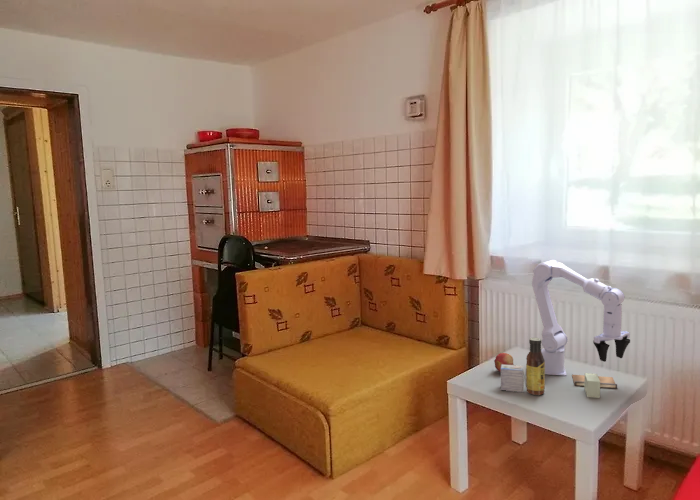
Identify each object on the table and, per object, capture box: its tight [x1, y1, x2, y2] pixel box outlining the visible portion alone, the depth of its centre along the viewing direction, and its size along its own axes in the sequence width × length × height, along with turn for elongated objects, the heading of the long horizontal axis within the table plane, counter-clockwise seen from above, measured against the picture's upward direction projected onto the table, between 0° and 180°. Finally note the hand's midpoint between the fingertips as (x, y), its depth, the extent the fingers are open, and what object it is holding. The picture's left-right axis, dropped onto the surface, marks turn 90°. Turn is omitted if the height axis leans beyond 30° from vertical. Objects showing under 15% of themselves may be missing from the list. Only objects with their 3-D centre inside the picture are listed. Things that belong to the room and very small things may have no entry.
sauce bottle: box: [525, 337, 546, 396], centre depth 180 cm, size 7×6×20 cm
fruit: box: [493, 352, 515, 373], centre depth 199 cm, size 8×8×8 cm
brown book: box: [571, 374, 618, 390], centre depth 187 cm, size 14×9×2 cm, turn 72°
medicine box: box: [500, 364, 524, 393], centre depth 184 cm, size 8×4×9 cm, turn 71°
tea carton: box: [583, 372, 601, 399], centre depth 178 cm, size 4×7×6 cm, turn 162°
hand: (611, 359), depth 182 cm, fingers open, 7 cm apart
